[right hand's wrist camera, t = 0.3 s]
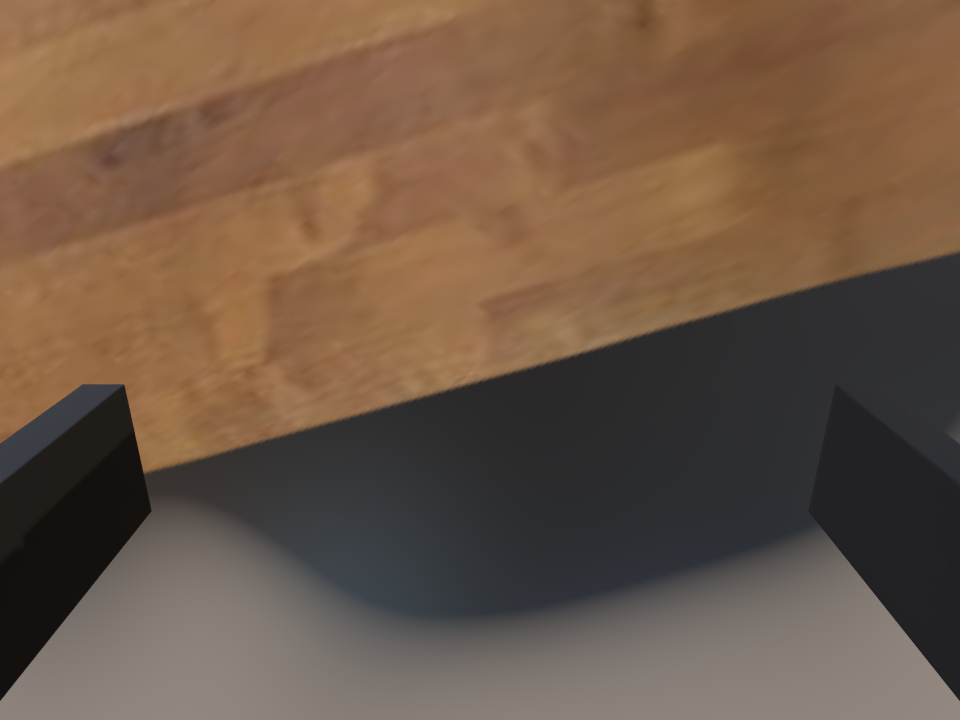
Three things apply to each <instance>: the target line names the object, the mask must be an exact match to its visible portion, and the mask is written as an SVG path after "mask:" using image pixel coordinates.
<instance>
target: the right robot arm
mask: <svg viewBox="0 0 960 720" xmlns="http://www.w3.org/2000/svg"><path fill="white" fill-rule="evenodd" d="M150 512H151V507H150V502H149V497H148V493H147V488H146V483H145V479H144V474H143V469H142V465H141V460H140V455H139V451H138V446H137V441H136V437H135V432H134V427H133V423H132V418H131V413H130V409H129V404H128V400H127V395H126V390H125V386H124V385H81V386H80V387H79V388H77V389H76V390H74V391H73V392H72V393H70V394H69V395H68V396H66V397H65V398H63V399H62V400H61V401H59V402H58V403H56V404H55V405H54V406H52V407H51V408H49V409H48V410H47V411H45V412H44V413H43V414H41V415H40V416H38V417H37V418H36V419H34V420H33V421H31V422H30V423H29V424H27V425H26V426H24V427H23V428H22V429H20V430H19V431H17V432H16V433H15V434H13V435H12V436H11V437H9V438H8V439H6V440H5V441H4V442H2V443H1V444H0V700H1V699H2V698H3V697H4V695H5V694H6V693H7V692H8V690H9V689H10V688H11V687H12V685H13V684H14V683H15V682H16V680H17V679H18V678H19V677H20V675H21V674H22V673H23V672H24V670H25V669H26V668H27V667H28V665H29V664H30V663H31V661H32V660H33V659H34V658H35V657H36V655H37V654H38V653H39V652H40V650H41V649H42V648H43V647H44V645H45V644H46V643H47V641H48V640H49V639H50V638H51V636H52V635H53V634H54V633H55V631H56V630H57V629H58V628H59V626H60V625H61V624H62V623H63V621H64V620H65V619H66V618H67V616H68V615H69V614H70V613H71V611H72V610H73V609H74V608H75V606H76V605H77V604H78V603H79V601H80V600H81V599H82V598H83V596H84V595H85V594H86V593H87V591H88V590H89V589H90V588H91V586H92V585H93V584H94V582H95V581H96V580H97V579H98V578H99V576H100V575H101V574H102V572H103V571H104V570H105V569H106V567H107V566H108V565H109V564H110V562H111V561H112V560H113V559H114V557H115V556H116V555H117V554H118V552H119V551H120V550H121V549H122V547H123V546H124V545H125V544H126V542H127V541H128V540H129V539H130V537H131V536H132V535H133V534H134V532H135V531H136V530H137V529H138V527H139V526H140V525H141V524H142V522H143V521H144V520H145V519H146V517H147V516H148V515H149V514H150ZM809 512H810V514H811V515H812V516H813V517H814V519H815V520H816V521H817V522H818V524H819V525H820V526H821V527H822V529H823V530H824V531H825V532H826V534H827V535H828V536H829V537H830V539H831V540H832V541H833V542H834V544H835V545H836V546H837V547H838V549H839V550H840V551H841V552H842V554H843V555H844V556H845V557H846V559H847V560H848V561H849V562H850V564H851V565H852V566H853V567H854V569H855V570H856V571H857V572H858V574H859V575H860V576H861V578H862V579H863V580H864V581H865V582H866V584H867V585H868V586H869V588H870V589H871V590H872V591H873V593H874V594H875V595H876V596H877V598H878V599H879V600H880V601H881V603H882V604H883V605H884V606H885V608H886V609H887V610H888V611H889V613H890V614H891V615H892V616H893V618H894V619H895V620H896V621H897V623H898V624H899V625H900V626H901V628H902V629H903V630H904V631H905V633H906V634H907V635H908V636H909V638H910V639H911V640H912V642H913V643H914V644H915V645H916V647H917V648H918V649H919V650H920V651H921V653H922V654H923V655H924V657H925V658H926V659H927V660H928V662H929V663H930V664H931V665H932V667H933V668H934V669H935V670H936V672H937V673H938V674H939V675H940V677H941V678H942V679H943V680H944V682H945V683H946V684H947V685H948V687H949V688H950V689H951V690H952V692H953V693H954V694H955V695H956V697H957V698H958V699H959V700H960V444H959V443H958V442H956V441H955V440H954V439H952V438H951V437H949V436H948V435H947V434H945V433H944V432H943V431H941V430H940V429H938V428H937V427H936V426H934V425H933V424H931V423H930V422H929V421H927V420H926V419H924V418H923V417H922V416H920V415H919V414H917V413H916V412H915V411H913V410H912V409H911V408H909V407H908V406H906V405H905V404H904V403H902V402H901V401H899V400H898V399H897V398H895V397H894V396H892V395H891V394H890V393H888V392H887V391H886V390H884V389H883V388H881V387H880V386H879V385H836V386H835V390H834V395H833V400H832V404H831V409H830V413H829V418H828V423H827V427H826V432H825V437H824V441H823V446H822V451H821V455H820V460H819V465H818V469H817V474H816V479H815V483H814V488H813V493H812V497H811V502H810V507H809Z"/></svg>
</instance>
